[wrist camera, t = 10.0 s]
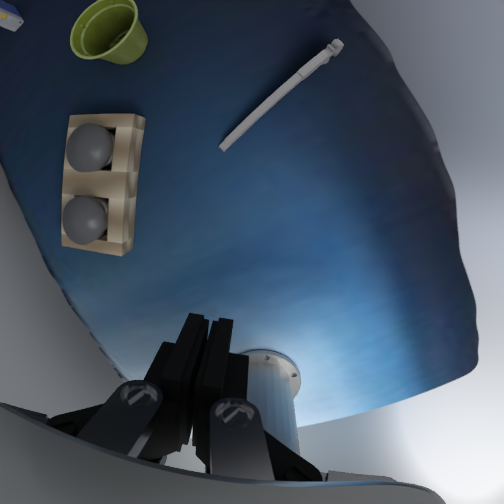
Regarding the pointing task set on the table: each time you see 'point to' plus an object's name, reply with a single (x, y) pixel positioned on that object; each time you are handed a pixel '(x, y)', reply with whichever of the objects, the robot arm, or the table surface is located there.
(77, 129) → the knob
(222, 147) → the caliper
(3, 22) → the blue upright box
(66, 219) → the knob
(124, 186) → the mount
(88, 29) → the plant pot
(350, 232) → the table surface
